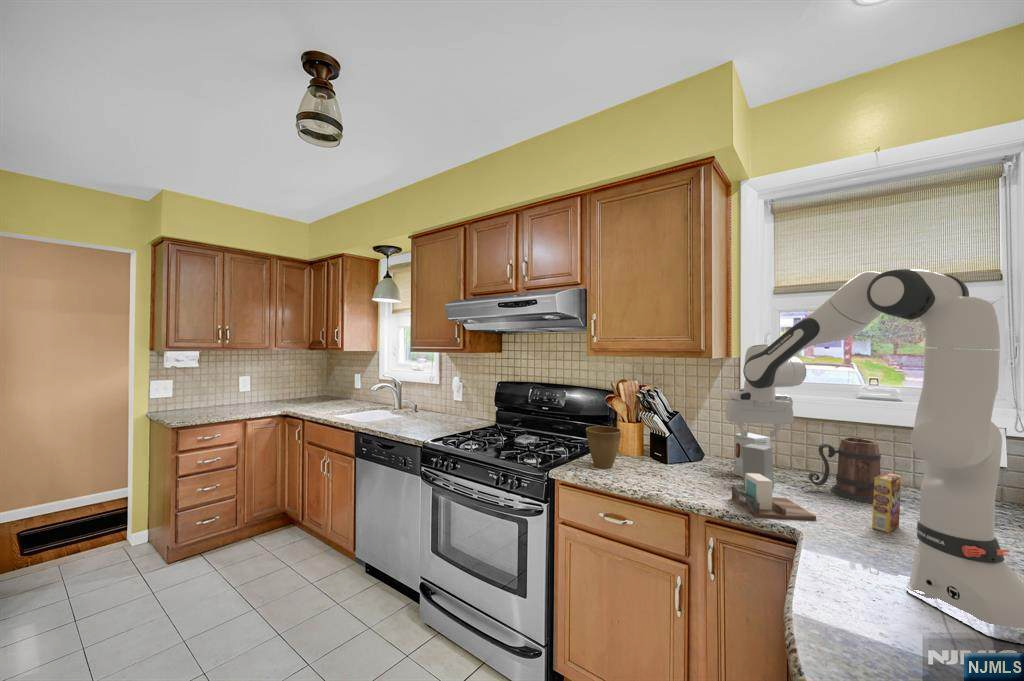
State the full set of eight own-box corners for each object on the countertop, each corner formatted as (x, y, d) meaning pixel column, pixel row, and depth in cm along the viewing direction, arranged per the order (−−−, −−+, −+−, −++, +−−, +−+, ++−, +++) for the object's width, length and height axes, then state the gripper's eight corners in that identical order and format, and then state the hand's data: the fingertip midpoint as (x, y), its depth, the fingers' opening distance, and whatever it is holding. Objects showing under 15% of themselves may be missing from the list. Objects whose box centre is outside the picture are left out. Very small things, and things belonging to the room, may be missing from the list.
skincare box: (774, 490, 158) (775, 447, 158) (763, 493, 154) (764, 449, 154) (751, 483, 165) (751, 442, 165) (740, 486, 161) (741, 444, 161)
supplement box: (732, 474, 176) (733, 433, 177) (747, 472, 180) (748, 432, 181) (754, 481, 168) (755, 438, 168) (769, 478, 172) (770, 436, 172)
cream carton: (758, 500, 143) (759, 473, 143) (772, 509, 135) (772, 481, 135) (744, 500, 143) (744, 473, 143) (756, 509, 135) (757, 480, 135)
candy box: (890, 533, 122) (891, 480, 122) (871, 528, 126) (872, 476, 126) (900, 527, 127) (901, 475, 127) (882, 521, 130) (883, 471, 131)
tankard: (875, 491, 159) (876, 437, 159) (899, 507, 143) (900, 447, 143) (802, 483, 166) (802, 432, 167) (817, 497, 150) (818, 441, 151)
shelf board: (816, 520, 130) (816, 505, 130) (754, 517, 131) (754, 503, 131) (785, 501, 146) (786, 488, 146) (730, 498, 147) (731, 486, 147)
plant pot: (600, 459, 194) (600, 424, 194) (627, 467, 183) (628, 430, 183) (578, 465, 185) (578, 428, 185) (605, 473, 173) (606, 434, 173)
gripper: (786, 394, 142) (786, 435, 142) (723, 392, 143) (723, 433, 143) (798, 396, 136) (797, 440, 135) (732, 394, 137) (731, 437, 137)
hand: (758, 436), depth 139 cm, fingers open, 8 cm apart
